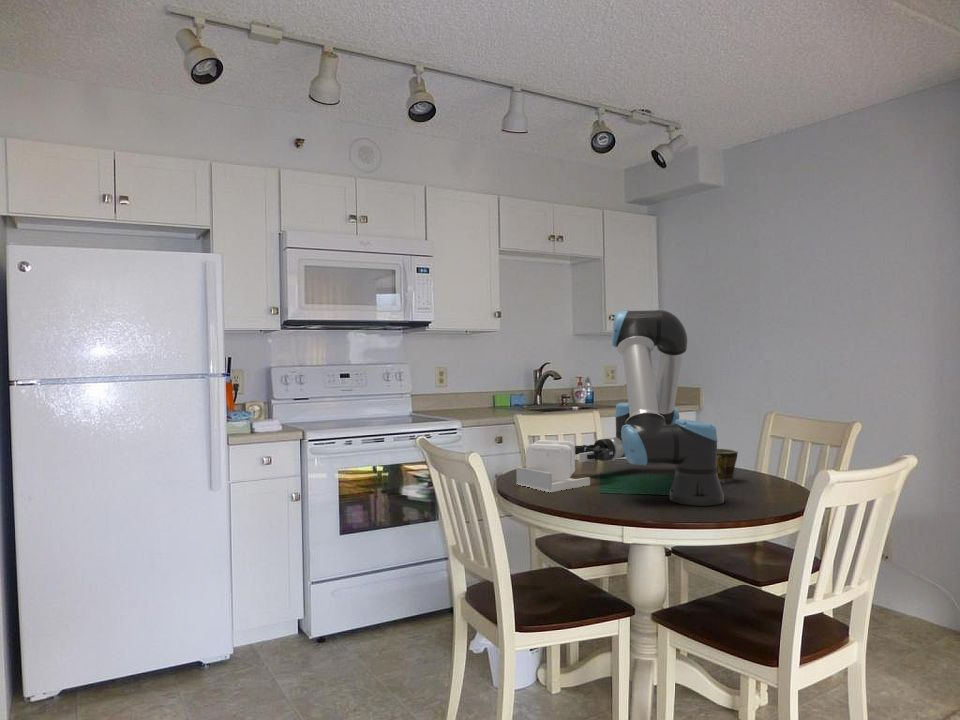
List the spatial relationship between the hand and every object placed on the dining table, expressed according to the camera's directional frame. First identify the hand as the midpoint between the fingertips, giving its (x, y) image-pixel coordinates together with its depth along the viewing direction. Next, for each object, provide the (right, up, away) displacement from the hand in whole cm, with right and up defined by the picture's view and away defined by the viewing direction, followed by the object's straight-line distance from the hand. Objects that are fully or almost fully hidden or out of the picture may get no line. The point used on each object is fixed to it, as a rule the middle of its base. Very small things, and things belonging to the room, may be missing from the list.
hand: (564, 455), depth 231 cm
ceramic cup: (+52, -9, -2) cm, 53 cm away
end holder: (-4, -9, -3) cm, 11 cm away
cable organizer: (-4, -7, -4) cm, 9 cm away
